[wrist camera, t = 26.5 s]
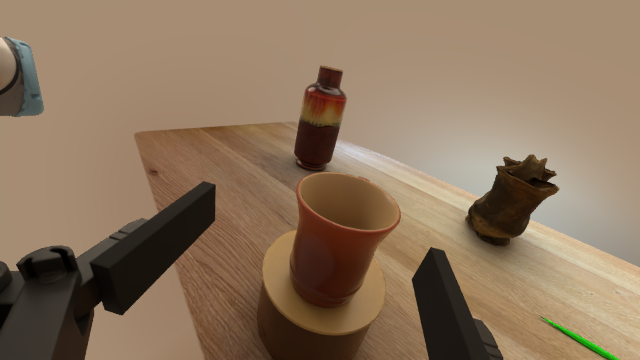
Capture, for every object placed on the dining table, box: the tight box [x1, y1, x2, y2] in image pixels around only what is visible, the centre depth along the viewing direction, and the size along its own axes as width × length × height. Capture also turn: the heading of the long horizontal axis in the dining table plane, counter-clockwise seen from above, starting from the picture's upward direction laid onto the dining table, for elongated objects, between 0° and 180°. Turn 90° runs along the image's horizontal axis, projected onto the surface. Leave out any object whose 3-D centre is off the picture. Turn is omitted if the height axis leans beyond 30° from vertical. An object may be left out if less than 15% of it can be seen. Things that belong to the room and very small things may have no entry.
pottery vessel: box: [465, 155, 559, 246], centre depth 52 cm, size 25×11×20 cm, turn 136°
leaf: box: [538, 315, 619, 360], centre depth 33 cm, size 1×14×1 cm, turn 53°
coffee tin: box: [257, 230, 386, 360], centre depth 27 cm, size 13×13×8 cm
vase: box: [294, 66, 347, 171], centre depth 63 cm, size 11×11×26 cm
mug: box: [289, 172, 401, 308], centre depth 23 cm, size 12×9×10 cm
